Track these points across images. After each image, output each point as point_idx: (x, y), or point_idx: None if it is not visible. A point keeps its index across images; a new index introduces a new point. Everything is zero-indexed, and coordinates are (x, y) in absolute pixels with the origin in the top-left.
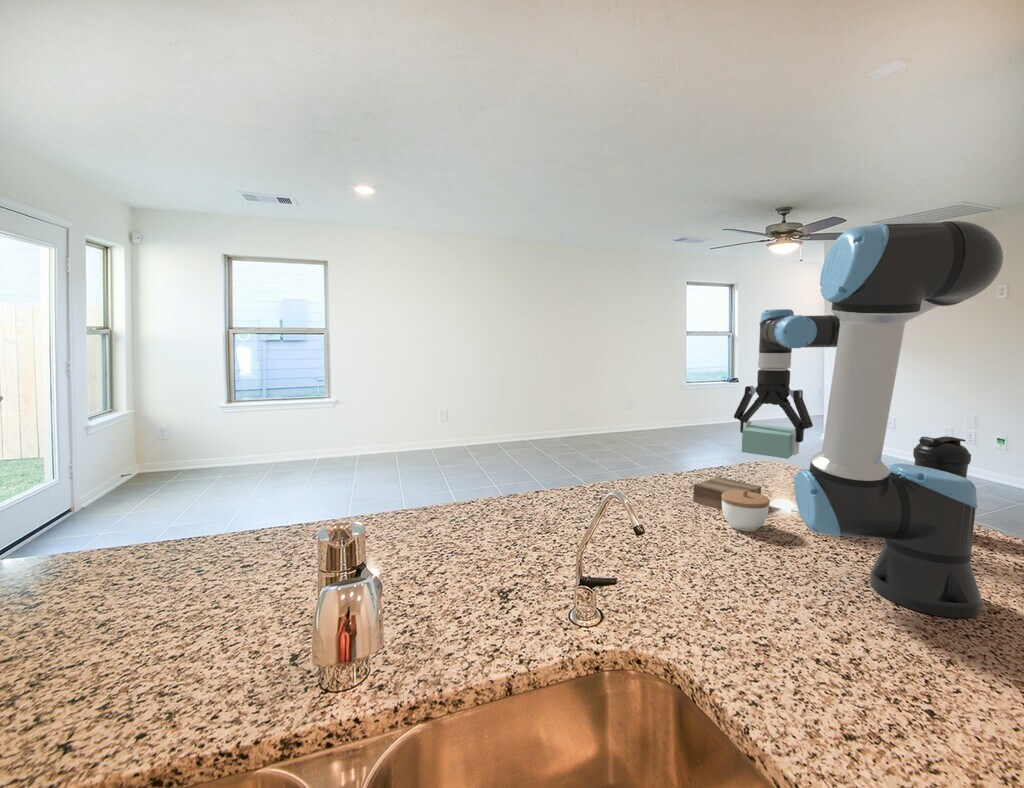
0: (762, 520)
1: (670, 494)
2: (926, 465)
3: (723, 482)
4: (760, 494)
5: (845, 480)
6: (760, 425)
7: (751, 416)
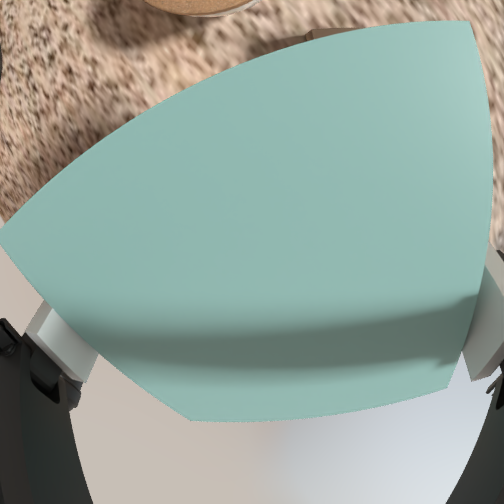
0: None
1: (495, 56)
2: None
3: None
4: (192, 8)
5: None
6: (399, 388)
7: (483, 426)
